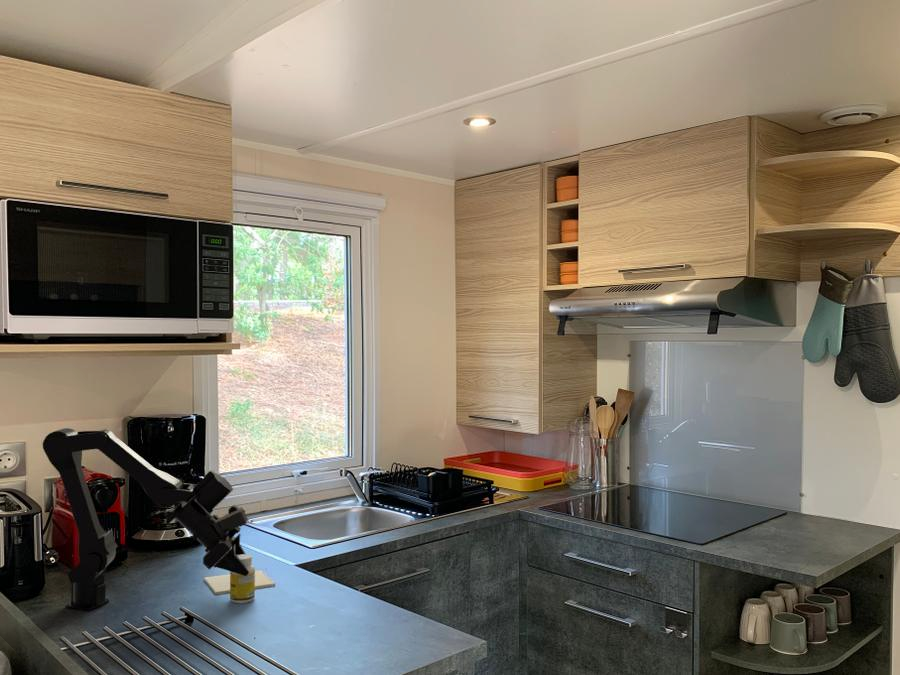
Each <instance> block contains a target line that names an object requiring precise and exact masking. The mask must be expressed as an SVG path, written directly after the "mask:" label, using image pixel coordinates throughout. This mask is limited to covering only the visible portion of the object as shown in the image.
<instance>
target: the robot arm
mask: <svg viewBox="0 0 900 675" xmlns="http://www.w3.org/2000/svg"><path fill="white" fill-rule="evenodd" d="M44 437H45V438H44V440H43V441H42V449H43V452H44V454H45V456H46V457H47V459H48V461H49V463H50V464H51V465H52V467H53V468H54V469H55V470H56V471H57V472H58V474H59V475H60V479H61V483H62V485H63V487H64V489H63V490H64V492H65V496H66V498H67V501H68V505H69V507H70V510H71V514H72V518H73V520H74V523H75V526H76V530H77V533H78V544H77V545H78V546H77V553H78V560H79V562H78V563H77V564H76V565H75V566H74V567H73V568H72V569H71V570H70V571H69V572H68V573H67V577H68V579H69V582H70V583H71V586H70V587H71V590H70V594H71V595H70V602H68V603H65V605H64V606H65V608H69V609H75V610H80V611H81V610H82V611H90V610H94V609H95V608H98V607H100V606H103V605H105V604H107V603H109V602H110V599H109V598H106V586H107V585H106V584H107V583H105V578H106V576H105V575H103V574H102V573H103V572H105V571H106V568H107V567H108V566H109V565H110V563H112V562H113V561H114V559H115V558H116V553H117V550H116V549H117V548H119V546H118V544H117V543H116V540H115V539H114V538H115V537H114V533H113V530H111V529H110V530H109V531H107V532H106V531H105V529H104V528H103V526H101V524H100V521H99V518H98V514H97V512H96V508H95V504H94V501H93V498H92V497H91V492H90V490H89V487H88V483H87V480H86V477H85V473H84V469H83V466H82V459H83V458H82V457H83V451H90V450H98V451H99V452H101V453H102V454H104V456H105V457H107V458H108V459H110V460H111V461H112V462H113V463H114V464H116V465H117V466H118V467H120V468H121V469H122V470H123V471H124V472H125V473H127V474H128V475H129V476H131V477H132V478H133V479H134V480H136V481H137V482H138V483H139V484H140V486H141V487H142V489H143V490H144V492H145V494H146V495H147V496H148V497H149V499H151V501H152V502H153V503H154V504H155V506H157V507H159V508H161V509H166V508H167V511H166V512H165V515H166V516H165V517H166V520H165V524H166V525H169V524H171V523H172V522H173V521H174V520H176V521H177V522H178V523H179V524H180V525H181V526H182V527H183V528H184V529H185V530H187V531H188V532H189V534H191V539H192V540H193V541H198V542H199V543H200V544H201V545H202V546H203V547H204V548H205V549H204V552H205V554H204V556H203V558H202V560H203V561H202V564H203V565H204V566H205V567H206V569H208V570H211V569H212V568H218V569H221V570H225V571H228V572H230V571H231V572H234V573H237V574H240V575H243V576H247V575H248V574H249V571H248V570H247V568H246V567H245V566H244V564H243V563H242V562H241V560H240V559H239V558H238V556H237V555H241V554H246V552H245V551H244V549H243V547H242V545H241V533H240V531H241V529H242V528H241V527H243V526H244V525H246V524H247V523H248V522H247V521H249V519H248V516H247V514H246V510H245V509H244V508H243V507H239V506H238V505H237V504H234V505H232V506H230V507H229V508H228V513H226V514H224V515H223V516H221V517H219V515H217V514H213V515H212V514H211V513H210V512H209V511H207V509H209V508H211V509H215V508H216V507H217V506H218V505H219V504H221V502H222V501H224V499H225V498H226V497H228V496H229V495H230V494H231V493H232V492H233V491H234V488H233V487H232V485H231V483H230V482H229V481H228V480H227V479H226V477H223V476H221V475H220V474H218V473H216V472H215V471H214V470H213V469H211V470H209V471H208V472H207V473H206V474H205V475H204V477H203V478H202V479H201V480H200V481H199V482H198V483H197V484H194V483H188V482H187V483H185V482H182V481H181V480H180V479H178V478H177V477H174V476H173V475H171V474H169V473H168V472H165V471H162V470H160V469H157V468H155V467H154V466H153V465H152V464H150V463H149V462H148V461H147V460H145V459H144V458H143V457H142V456H140V455H139V454H138V453H137V452H135V451H134V450H133V449H132V448H130V447H129V446H128V445H126V443H125V442H123V441H122V440H121V439H119V437H117V436H116V435H115V434H114V433H113V432H112V431H111V430H110V429H106V428H105V429H101V430H83V431H82V430H81V431H77V430H75V429H73V428H69V427H66V428H60V429H57V430H55V431H52V432H50V433H48V434H47V435H46V436H44ZM192 495H194V496H193V497H192V498H190V499H189V497H190V496H192ZM188 499H189V500H188ZM186 500H188V502H186ZM178 502H179V503H178ZM177 503H178V504H177ZM176 504H177V505H176ZM174 505H176V506H175V507H174V508H173V509H168V508H171V507H173V506H174ZM236 534H238V535H237V536H236V537H235V535H236ZM251 565H253V564H252V563H251Z"/></svg>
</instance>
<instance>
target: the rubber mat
mask: <svg viewBox="0 0 900 675" xmlns="http://www.w3.org/2000/svg"><path fill="white" fill-rule="evenodd" d="M203 581H204V582H205V583H206V584H207V586H208V587H209V588H210V590H211V591H212V592H213V593H214V595H222V594H230V573H228V574H221V575H214V576H208V577H207V576H206V577H203ZM275 586H276V583H275V581H273V579H272V578H270V576H268V575H267V574H266V573H265V572H264V571H262V569H258V570H257V569H256V570H255V590H257V589H261V588H268V587H275Z"/></svg>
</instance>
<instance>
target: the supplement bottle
mask: <svg viewBox="0 0 900 675" xmlns="http://www.w3.org/2000/svg"><path fill="white" fill-rule="evenodd" d="M237 556H238V558H239V559H240V560H241V562H242V563H243V564H244V566H245V567H246V568H247V570H248V571H249V574H248V575H247V576H243V575H240V574H237V573H234V572H231V571H229V574H230V593H229V599H230V602H232V603H234V604H246V603H249V602H252V601H254V599H255V596H256V595H255V591H256V589H255V571H256V569H255V566H254V565H253V564H252V562H253V556H252V555H251V554H246V553H245V554H241V555H237ZM251 564H252V565H251Z"/></svg>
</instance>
